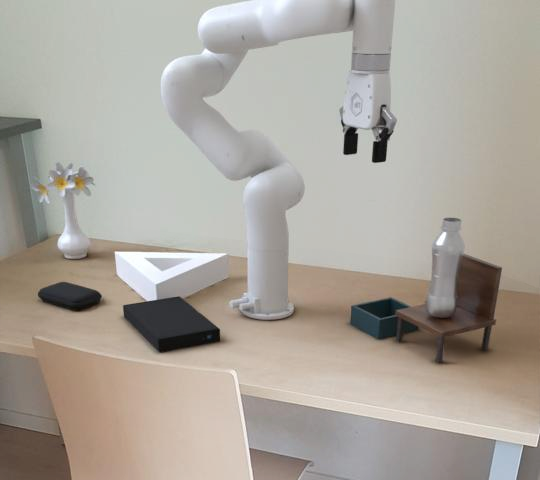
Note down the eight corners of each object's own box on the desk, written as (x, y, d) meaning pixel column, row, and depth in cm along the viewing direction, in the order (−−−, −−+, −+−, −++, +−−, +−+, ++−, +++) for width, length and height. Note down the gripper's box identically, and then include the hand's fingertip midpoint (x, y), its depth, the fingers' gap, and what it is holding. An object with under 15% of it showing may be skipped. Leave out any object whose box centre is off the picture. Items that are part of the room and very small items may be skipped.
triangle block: (157, 310, 188) (155, 284, 185) (77, 290, 200) (74, 265, 196) (228, 277, 210) (228, 253, 206) (152, 261, 221) (151, 238, 218)
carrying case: (109, 301, 193) (67, 289, 200) (108, 288, 192) (66, 277, 199) (77, 313, 186) (35, 300, 193) (75, 300, 184) (33, 288, 191)
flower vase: (35, 261, 220) (20, 167, 206) (79, 245, 233) (68, 156, 220) (70, 269, 214) (58, 172, 201) (113, 252, 228) (104, 161, 215)
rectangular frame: (378, 339, 174) (379, 319, 172) (349, 324, 182) (351, 305, 179) (418, 329, 179) (420, 310, 177) (389, 315, 187) (391, 296, 184)
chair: (438, 364, 163) (449, 279, 153) (392, 340, 173) (400, 259, 164) (491, 350, 169) (505, 267, 160) (443, 328, 180) (454, 249, 170)
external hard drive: (180, 308, 189) (180, 296, 188) (220, 341, 172) (220, 328, 170) (124, 317, 184) (122, 305, 182) (159, 352, 166) (158, 339, 165)
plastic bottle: (458, 321, 164) (472, 224, 153) (426, 321, 164) (437, 223, 154) (453, 310, 170) (466, 215, 159) (421, 310, 170) (432, 215, 159)
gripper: (329, 61, 157) (325, 153, 166) (383, 68, 144) (375, 167, 153) (359, 60, 160) (353, 150, 169) (414, 67, 147) (405, 163, 157)
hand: (364, 158), depth 161 cm, fingers open, 9 cm apart
